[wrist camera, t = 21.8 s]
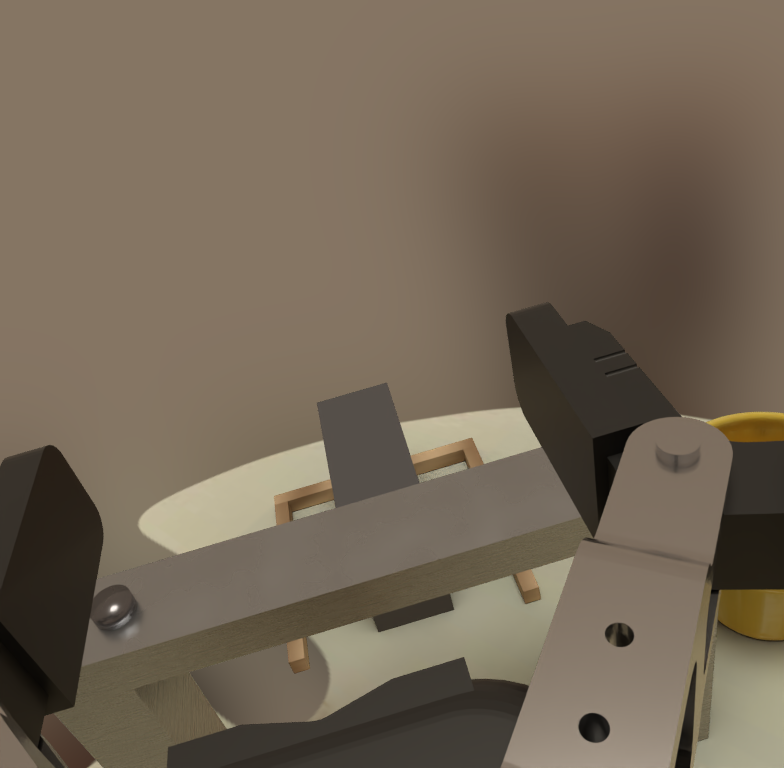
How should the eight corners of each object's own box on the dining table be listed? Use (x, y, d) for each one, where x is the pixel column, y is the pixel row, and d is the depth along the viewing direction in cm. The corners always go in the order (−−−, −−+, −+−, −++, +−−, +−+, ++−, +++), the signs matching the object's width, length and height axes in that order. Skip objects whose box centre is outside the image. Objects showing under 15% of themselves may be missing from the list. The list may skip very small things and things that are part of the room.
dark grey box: (378, 632, 47) (339, 527, 41) (350, 494, 58) (315, 394, 52) (454, 610, 47) (425, 501, 41) (412, 476, 58) (384, 374, 52)
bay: (294, 673, 46) (288, 662, 45) (278, 506, 58) (274, 496, 57) (540, 598, 47) (538, 587, 46) (474, 448, 59) (471, 437, 58)
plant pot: (655, 525, 49) (655, 413, 43) (829, 523, 46) (854, 403, 41) (675, 668, 41) (678, 554, 35) (887, 675, 39) (927, 553, 33)
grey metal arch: (215, 891, 37) (17, 673, 26) (216, 809, 40) (40, 583, 29) (708, 738, 38) (730, 460, 26) (669, 670, 41) (674, 396, 30)
